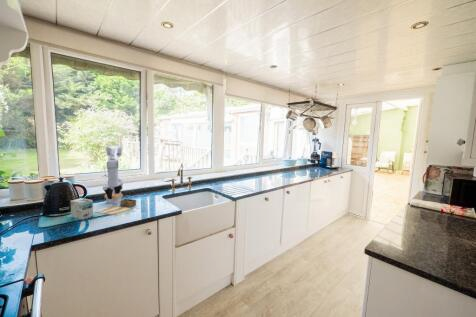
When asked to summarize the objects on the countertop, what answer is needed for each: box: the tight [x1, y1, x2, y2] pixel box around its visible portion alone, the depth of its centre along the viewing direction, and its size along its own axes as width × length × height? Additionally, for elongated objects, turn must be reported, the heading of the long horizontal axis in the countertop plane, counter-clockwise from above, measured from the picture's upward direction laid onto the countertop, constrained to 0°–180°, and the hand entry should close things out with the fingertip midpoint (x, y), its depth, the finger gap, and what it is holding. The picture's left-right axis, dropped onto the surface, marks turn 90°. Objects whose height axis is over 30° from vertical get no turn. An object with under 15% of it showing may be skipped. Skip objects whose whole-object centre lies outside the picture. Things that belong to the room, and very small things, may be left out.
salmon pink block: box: [104, 193, 124, 200], centre depth 136 cm, size 9×5×3 cm, turn 78°
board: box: [94, 205, 135, 216], centre depth 137 cm, size 18×14×1 cm
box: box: [119, 198, 137, 208], centre depth 148 cm, size 9×5×4 cm, turn 78°
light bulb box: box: [70, 197, 94, 220], centre depth 126 cm, size 11×7×11 cm, turn 71°
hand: (113, 197), depth 136 cm, fingers closed on salmon pink block, 5 cm apart
